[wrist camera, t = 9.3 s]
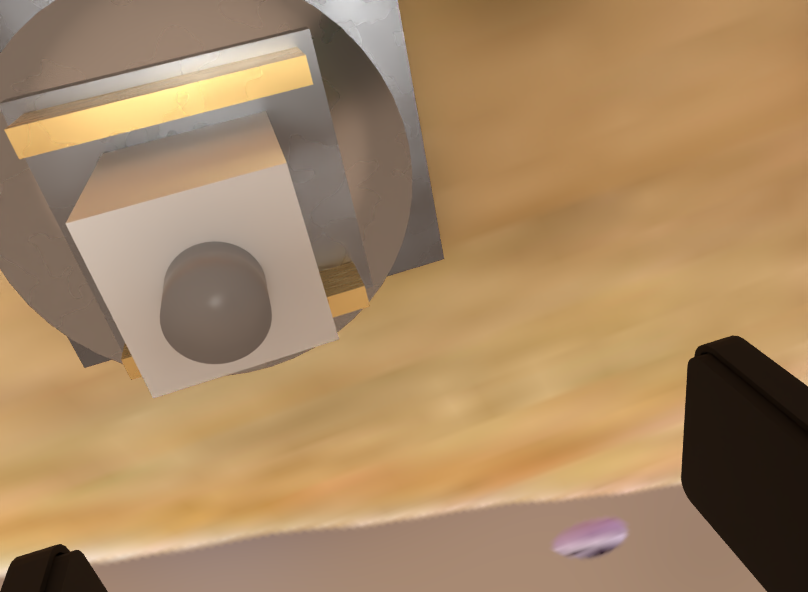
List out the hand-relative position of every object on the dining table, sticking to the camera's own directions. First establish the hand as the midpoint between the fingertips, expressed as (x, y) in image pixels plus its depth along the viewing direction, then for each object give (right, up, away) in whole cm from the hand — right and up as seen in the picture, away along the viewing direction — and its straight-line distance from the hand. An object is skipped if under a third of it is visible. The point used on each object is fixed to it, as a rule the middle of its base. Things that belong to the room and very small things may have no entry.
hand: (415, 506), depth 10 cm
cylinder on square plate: (-10, +12, +22) cm, 26 cm away
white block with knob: (-6, +6, +11) cm, 14 cm away
